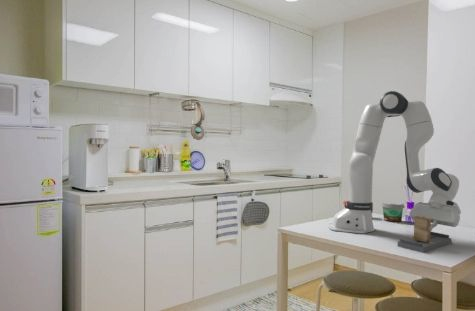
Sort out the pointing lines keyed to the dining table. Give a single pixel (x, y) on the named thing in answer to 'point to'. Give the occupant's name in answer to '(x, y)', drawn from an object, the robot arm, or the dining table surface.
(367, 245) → the dining table surface
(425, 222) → the fader knob
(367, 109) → the robot arm
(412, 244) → the fader track
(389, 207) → the food container
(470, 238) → the dining table surface
